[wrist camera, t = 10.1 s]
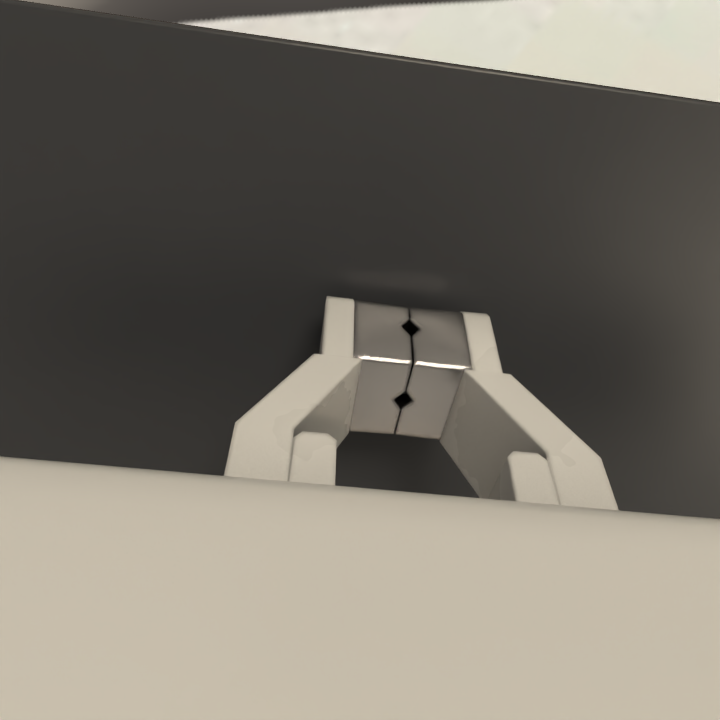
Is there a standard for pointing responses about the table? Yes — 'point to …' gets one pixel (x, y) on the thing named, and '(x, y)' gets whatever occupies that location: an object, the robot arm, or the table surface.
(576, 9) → the table surface
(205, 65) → the bin lid
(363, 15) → the table surface
